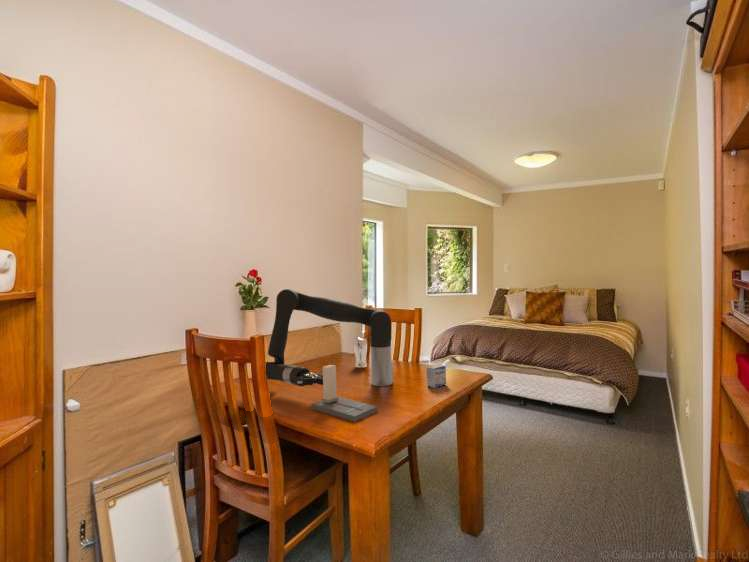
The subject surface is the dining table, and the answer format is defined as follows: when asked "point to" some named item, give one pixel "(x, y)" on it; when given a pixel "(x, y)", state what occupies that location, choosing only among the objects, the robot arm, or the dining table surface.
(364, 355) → the beer glass
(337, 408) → the fader board
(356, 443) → the dining table surface
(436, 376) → the medicine box
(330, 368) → the beige tall block
